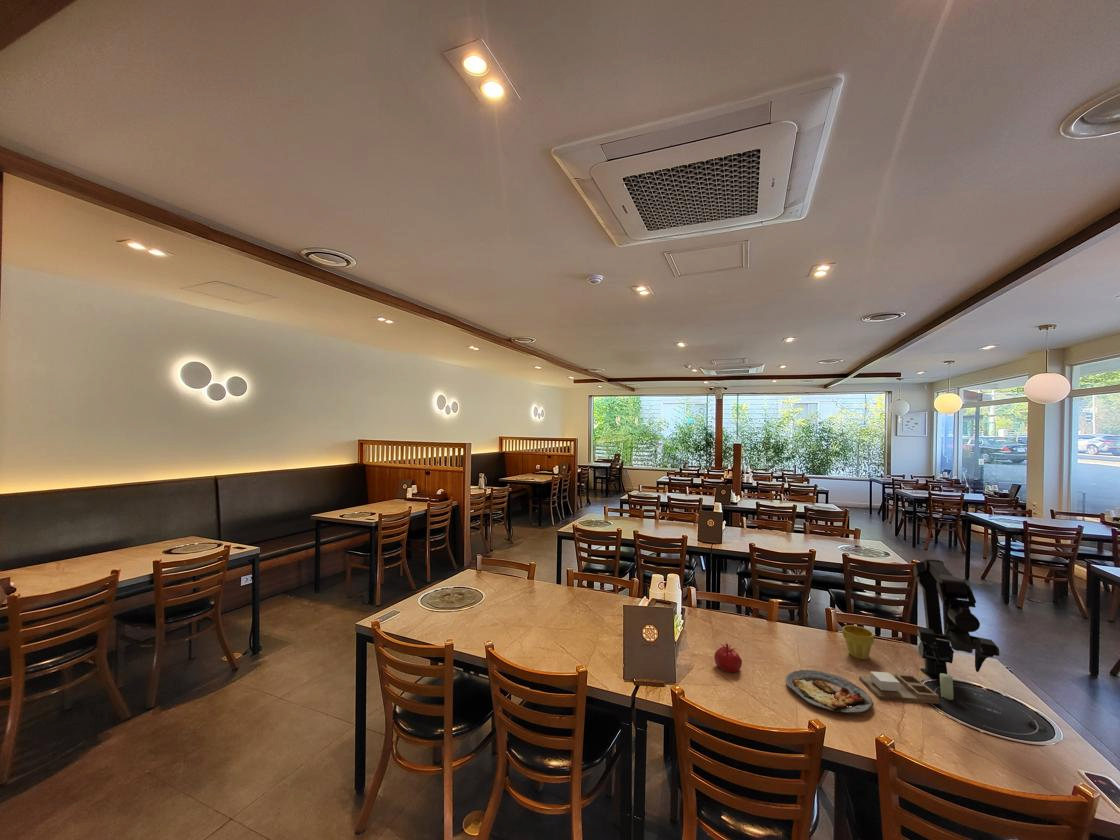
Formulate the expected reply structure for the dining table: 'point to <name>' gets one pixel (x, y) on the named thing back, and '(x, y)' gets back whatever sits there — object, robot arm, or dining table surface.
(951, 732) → the dining table surface
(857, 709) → the food plate
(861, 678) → the board
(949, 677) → the peg
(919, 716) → the dining table surface
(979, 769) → the dining table surface
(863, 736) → the dining table surface
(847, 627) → the plant pot
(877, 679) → the cover
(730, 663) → the pomegranate
